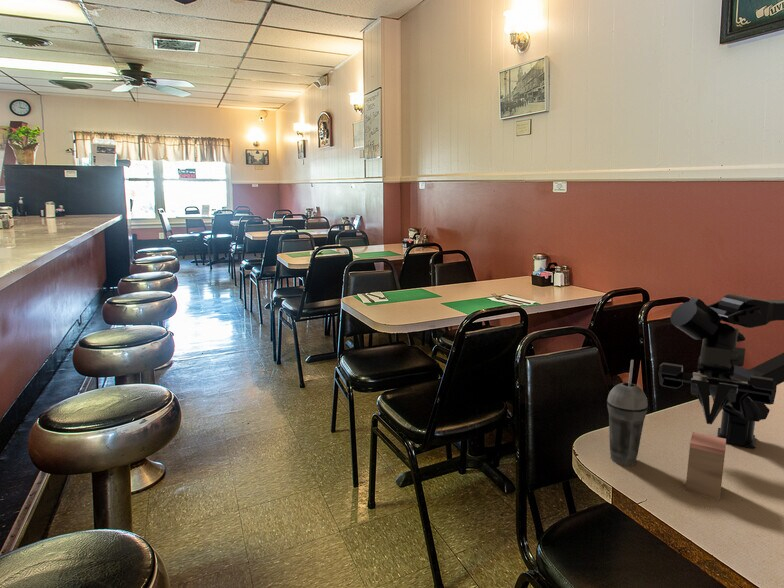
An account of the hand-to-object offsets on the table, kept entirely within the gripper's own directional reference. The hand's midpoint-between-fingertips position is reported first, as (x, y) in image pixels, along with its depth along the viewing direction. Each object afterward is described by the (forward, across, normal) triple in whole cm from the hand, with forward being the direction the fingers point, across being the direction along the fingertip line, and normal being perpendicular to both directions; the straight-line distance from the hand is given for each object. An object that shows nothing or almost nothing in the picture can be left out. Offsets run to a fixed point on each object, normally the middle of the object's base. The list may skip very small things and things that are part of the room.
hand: (709, 423), depth 92 cm
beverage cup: (+10, -13, +3) cm, 17 cm away
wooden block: (+12, 0, +1) cm, 12 cm away
